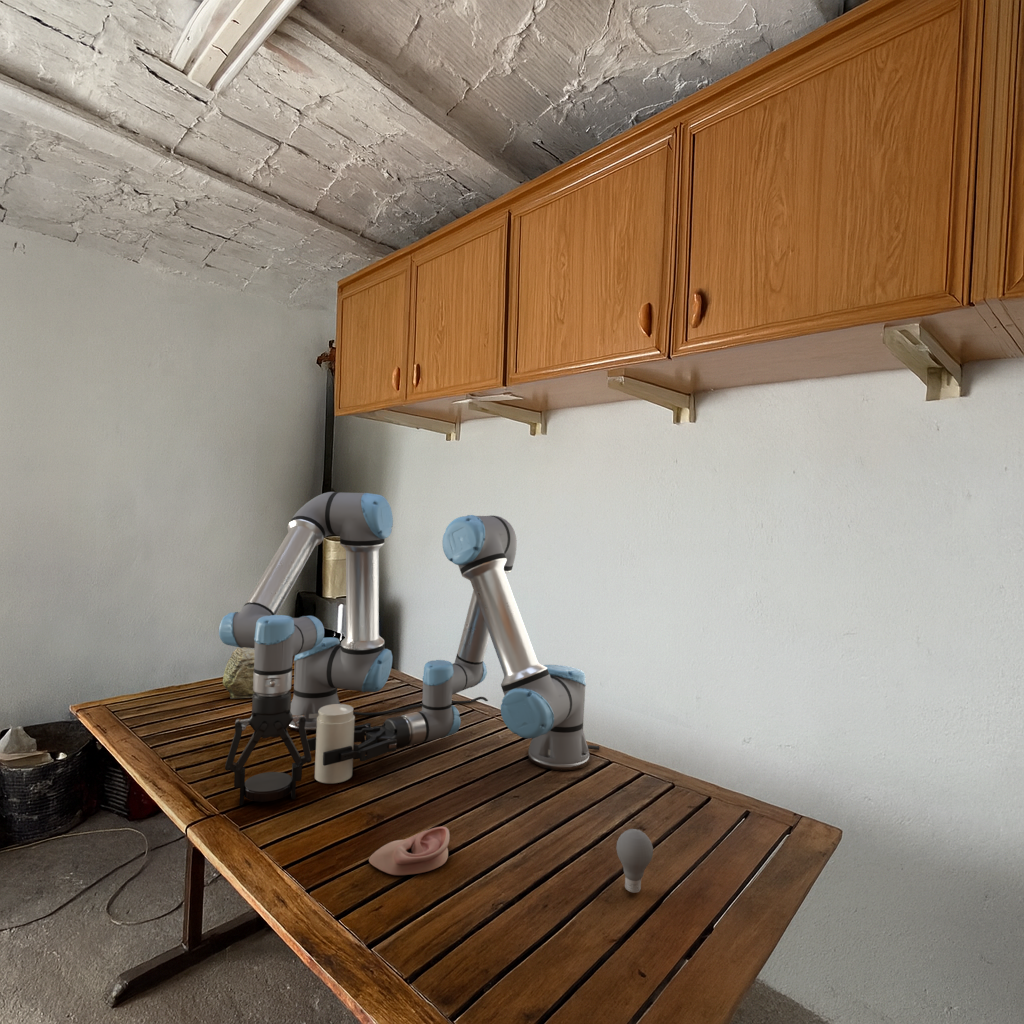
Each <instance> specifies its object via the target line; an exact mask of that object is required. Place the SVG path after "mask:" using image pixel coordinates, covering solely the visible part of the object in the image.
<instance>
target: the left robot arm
mask: <svg viewBox="0 0 1024 1024" xmlns="http://www.w3.org/2000/svg"><path fill="white" fill-rule="evenodd" d="M393 525H394V517H393V511H392V507H391V505H390V502H389V501H388V500H387V498H386V497H385V496H383V495H382V494H377V493H371V492H343V491H342V492H341V491H327V492H324V493H321V494H319V495H316V496H314V497H313V498H312V499H310V500H309V501H307V502H306V503H305V504H303V505H302V506H301V507H300V508H299V509H298V510H297V511H296V512H295V514H294V515H293V516H292V518H291V519H290V521H289V522H288V524H287V527H286V528H287V534H286V535H285V537H284V539H282V542H281V544H280V545H279V547H278V548H277V550H276V551H275V553H274V555H273V557H272V558H271V560H270V562H269V564H268V565H267V567H266V568H265V570H264V572H263V573H262V575H261V576H260V578H259V580H258V581H257V583H256V585H255V587H254V588H253V590H252V591H251V593H250V595H249V596H248V599H247V600H246V601H245V603H244V604H243V606H242V607H241V609H240V611H239V612H238V611H235V612H228V613H227V614H226V615H224V616H223V617H222V619H221V620H220V622H219V627H218V628H219V629H218V635H219V639H220V641H221V642H222V644H224V645H226V646H231V647H235V648H238V647H239V648H243V647H245V648H250V649H255V652H254V672H253V691H254V692H255V693H254V694H253V697H252V698H251V699H252V701H251V704H252V705H251V714H250V716H249V718H244V719H242V718H240V717H238V718H236V719H235V722H234V735H233V738H232V742H231V745H230V748H229V752H228V755H227V757H226V761H225V765H224V770H225V771H227V772H229V771H231V772H233V774H234V777H233V778H234V779H233V786H234V788H235V789H239V802H238V803H239V804H238V805H239V806H244V803H245V796H244V783H245V781H246V780H245V779H246V767H245V764H246V763H247V762H248V759H249V757H250V756H251V754H252V752H253V751H254V749H255V748H256V746H257V744H258V743H259V741H260V740H261V739H268V738H279V737H280V738H281V740H282V742H283V743H284V745H285V747H286V749H287V751H288V753H289V754H290V756H291V758H292V760H293V761H294V762H292V764H291V777H292V790H291V792H290V797H291V798H290V799H291V800H296V792H297V791H296V790H297V789H296V788H297V782H301V781H302V779H303V766H304V765H306V764H310V763H311V762H312V754H311V751H310V749H309V744H308V740H307V739H308V737H307V733H316V725H317V717H318V716H319V713H318V711H319V709H320V708H321V707H323V706H326V705H331V704H341V702H340V699H339V695H338V689H339V690H347V691H354V692H355V691H357V692H362V693H366V692H367V693H377V692H379V691H381V690H382V689H383V688H384V687H385V685H386V683H387V682H388V680H389V677H390V674H391V671H392V666H393V653H392V650H390V649H388V648H385V639H384V638H383V637H381V636H380V622H379V621H380V615H379V614H380V613H379V612H380V557H379V556H380V549H381V548H382V547H383V546H384V545H385V539H387V538H389V537H390V536H391V534H392V531H393ZM328 536H339V544H340V545H341V547H343V548H344V550H345V596H346V597H345V601H346V602H345V608H346V609H345V611H346V613H345V617H346V618H345V620H346V622H345V625H346V628H345V629H346V631H345V633H346V635H345V638H343V639H342V640H341V641H340V639H339V638H338V637H334V636H333V637H325V627H324V625H323V622H322V621H321V620H320V619H319V618H318V617H316V616H314V615H302V616H299V617H292V616H290V615H284V614H278V613H279V612H280V610H281V608H282V606H283V605H284V603H285V601H286V599H287V597H288V595H289V594H290V592H291V590H292V588H293V587H294V585H295V584H296V581H297V579H298V578H299V575H300V574H301V573H302V570H303V569H304V567H305V565H306V563H307V561H308V560H309V558H310V556H311V555H312V552H313V551H314V549H315V547H317V546H319V545H321V544H322V543H323V541H324V539H325V538H327V537H328ZM293 658H294V659H293ZM293 662H294V672H293ZM292 681H293V682H292ZM292 684H293V695H292V692H291V689H292ZM292 696H293V697H292ZM470 700H471V701H470ZM479 700H483V701H484V702H488V701H489V699H487V698H486V697H484V696H478V697H475V698H472V699H469V700H452V705H455V704H456V705H458V704H459V705H460V704H462V705H463V704H472V703H475V702H476V701H479ZM418 707H419V708H420V707H422V702H421V703H416V704H411V705H408V706H407V705H406V706H404V707H399V708H396V709H390V710H384V711H375V712H373V711H372V712H360V711H353V715H354V716H364V717H365V716H367V717H368V716H381V715H389V714H395V713H399V712H403V711H406V710H409V709H414V708H418ZM247 726H250V727H251V729H252V730H253V733H252V735H251V737H250V739H249V740H248V742H247V744H246V745H245V747H244V748H243V751H242V753H241V754H240V756H239V758H238V760H237V761H236V762H234V761H235V758H236V755H237V752H238V748H239V746H240V741H241V739H242V734H243V732H244V731H246V730H247ZM288 729H289V730H291V731H294V732H295V731H296V732H298V734H299V738H300V739H299V740H300V742H301V747H302V751H303V755H302V756H301V754H300V752H299V750H298V748H297V747H296V745H295V743H294V741H293V740H292V737H291V736H290V734H289V731H288Z"/></svg>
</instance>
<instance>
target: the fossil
mask: <svg viewBox="0 0 1024 1024" xmlns="http://www.w3.org/2000/svg"><path fill="white" fill-rule="evenodd" d="M254 652H255V648H245V647H243V648H239V647H236V649H235V650H233V651H232V653H231V656H230V657H229V659H228V660H227V663H226V666H225V668H224V671H223V675H222V676H223V677H222V685H223V687H224V688H225V690H226V691H228V693H229V698H230V699H250V698H251V699H252V697H253V694H254V693H255V692H254V691H253V672H254Z"/></svg>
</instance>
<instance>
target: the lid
mask: <svg viewBox="0 0 1024 1024" xmlns="http://www.w3.org/2000/svg"><path fill="white" fill-rule="evenodd" d="M291 790H292V775H290V774H288V773H285V772H281V771H268V772H262V773H258V774H254V775H252V776H250V777H248V778H247V779H246V780H245V783H244V799H246V800H248V801H251V802H259V803H264V802H265V803H266V802H273V801H277V800H280V799H283V798H285V797H286V796H288V795H289V794H291Z"/></svg>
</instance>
